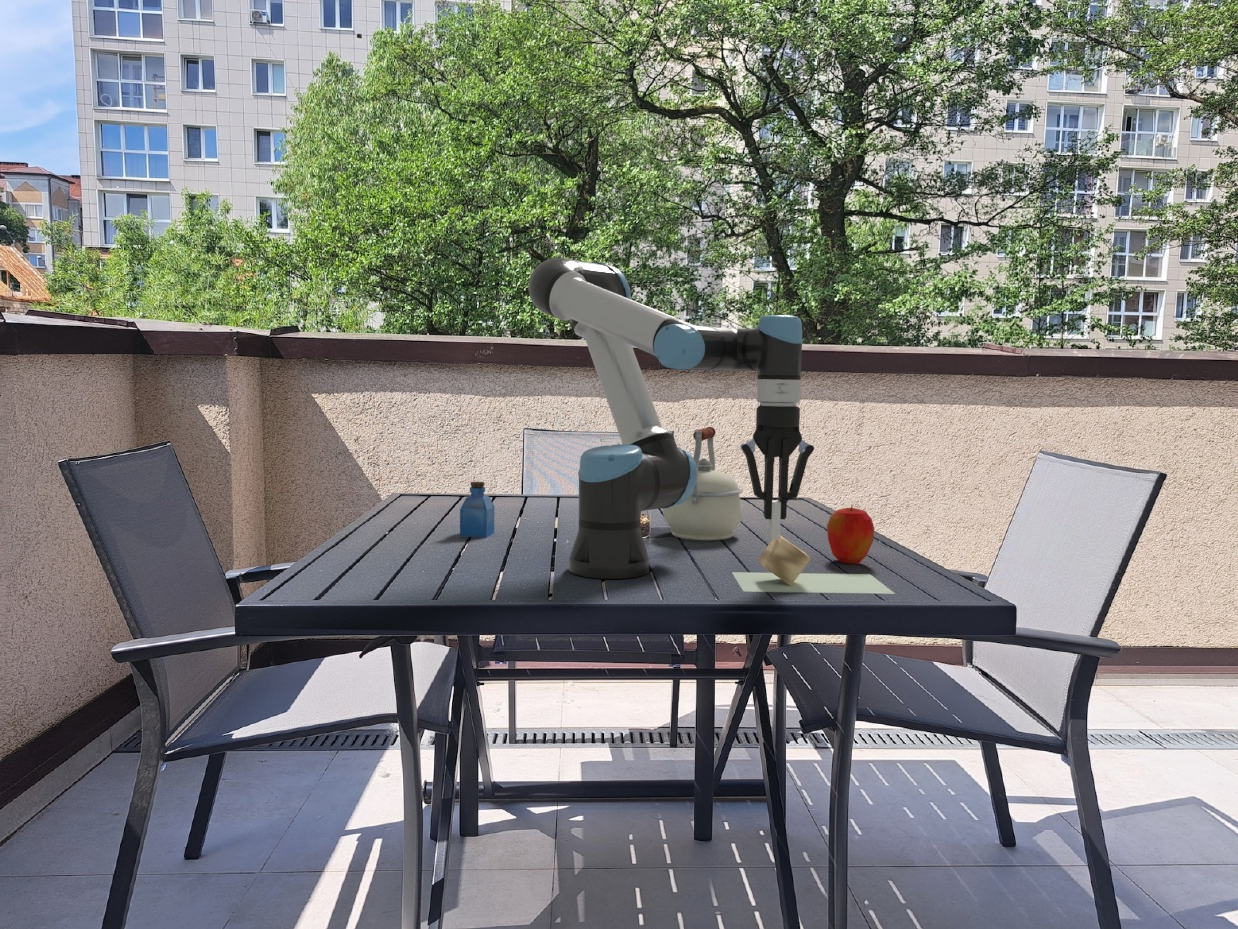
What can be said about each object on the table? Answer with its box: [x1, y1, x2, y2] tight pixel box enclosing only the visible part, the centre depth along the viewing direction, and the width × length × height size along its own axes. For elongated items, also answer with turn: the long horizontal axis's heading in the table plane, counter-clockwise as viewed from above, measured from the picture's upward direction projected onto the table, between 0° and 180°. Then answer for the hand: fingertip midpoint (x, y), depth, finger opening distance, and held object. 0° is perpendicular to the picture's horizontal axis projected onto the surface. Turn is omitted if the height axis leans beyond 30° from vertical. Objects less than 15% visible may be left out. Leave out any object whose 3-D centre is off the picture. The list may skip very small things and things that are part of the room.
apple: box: [826, 503, 875, 565], centre depth 181 cm, size 9×9×12 cm
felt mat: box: [731, 571, 896, 595], centre depth 163 cm, size 26×15×1 cm, turn 91°
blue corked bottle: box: [459, 481, 495, 539], centre depth 206 cm, size 6×6×12 cm
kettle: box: [662, 426, 744, 542], centre depth 211 cm, size 25×18×25 cm
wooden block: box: [757, 534, 812, 586], centre depth 162 cm, size 6×6×6 cm
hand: (774, 537), depth 162 cm, fingers closed
